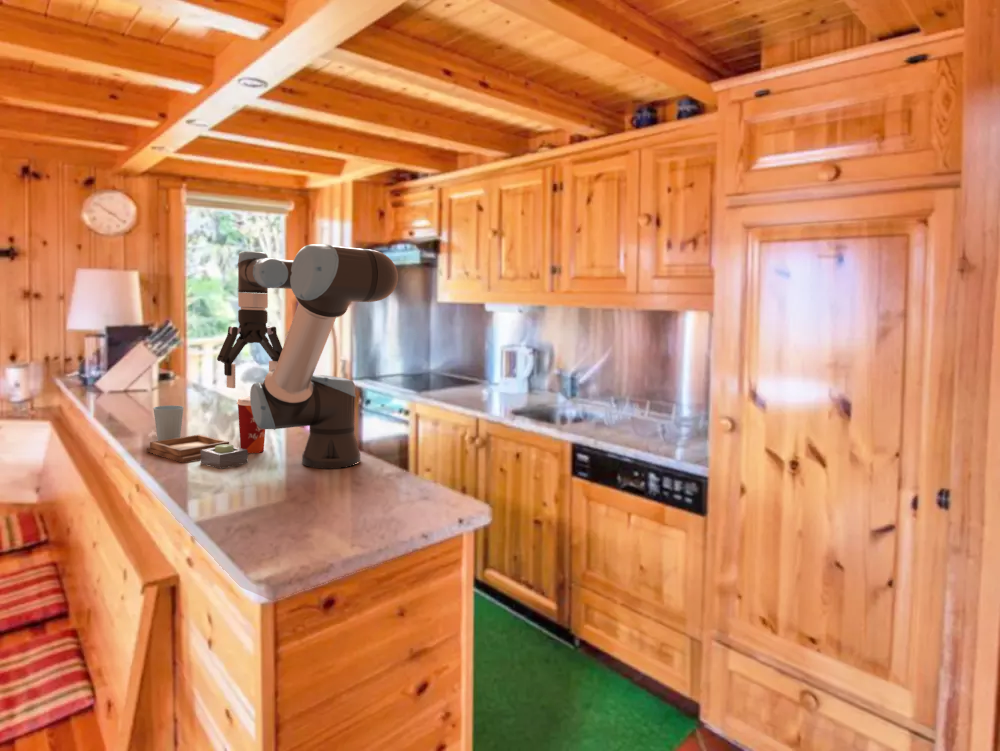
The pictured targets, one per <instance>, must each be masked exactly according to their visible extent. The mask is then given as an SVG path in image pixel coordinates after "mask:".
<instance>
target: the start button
mask: <svg viewBox="0 0 1000 751" xmlns="http://www.w3.org/2000/svg"><path fill="white" fill-rule="evenodd" d="M230 451H234V445H233V444H230V443H229V444H223V445H217V446H215V452H219V453H225V452H230Z"/></svg>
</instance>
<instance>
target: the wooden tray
mask: <svg viewBox="0 0 1000 751" xmlns="http://www.w3.org/2000/svg"><path fill="white" fill-rule="evenodd" d="M223 444H229V445H230V441H227V440H225V439H220V438H216V437H211V436H207V435H203V434H199V433H198V434H192V435H187V436H180V437H179V438H173V439H167V440H161V441H158V440H155V441H150V442H149V447H146V453H148V452H150V453H149V454H151V453H153V454H152V455H155V454H157V455H156V456H158V455H160V456H159V457H162V456H163V457H162V458H165V457H167V458H166V459H169V458H170V459H169V460H172V459H173V461H175V460H176V462H180V463H182V464H183V463H184V464H185V463H190V462H195V461H199V460H200V461H201V450H203V449H209V448H214V447H215V446H217V445H223Z"/></svg>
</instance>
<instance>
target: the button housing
mask: <svg viewBox="0 0 1000 751" xmlns="http://www.w3.org/2000/svg"><path fill="white" fill-rule="evenodd" d="M233 446H234V445H233ZM248 454H249V453H248V450H247V449H243V448H241V447H240V446H234V451H230V452H225V453H219V452H215V447H214V448H209V449H203V450H201V460H200V464H202V465H206V466H209V467H213V468H215V469H219V470H220V469H225V468H231V467H235V466H239V465H244V464H248V462H249V461H248V457H249V456H248Z"/></svg>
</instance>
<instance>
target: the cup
mask: <svg viewBox="0 0 1000 751" xmlns="http://www.w3.org/2000/svg"><path fill="white" fill-rule="evenodd" d="M152 409H153V410H152V411H153V416H154V424H155V432H156V436H157V441H161V440H167V439H173V438H179V437H181V434H182V433H181V432H182V426H183V425H182V424H183V416H184V415H183V414H184V406H182V405H159V406H155V407H153V408H152Z"/></svg>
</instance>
